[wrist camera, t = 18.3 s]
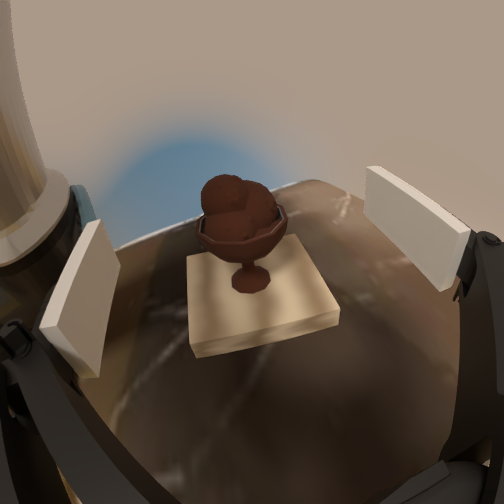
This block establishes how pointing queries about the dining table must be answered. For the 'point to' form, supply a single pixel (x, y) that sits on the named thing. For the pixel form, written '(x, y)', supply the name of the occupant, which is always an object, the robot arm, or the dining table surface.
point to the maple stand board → (256, 301)
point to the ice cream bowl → (241, 227)
